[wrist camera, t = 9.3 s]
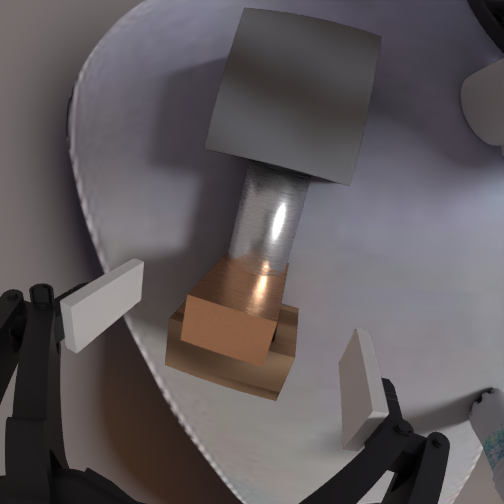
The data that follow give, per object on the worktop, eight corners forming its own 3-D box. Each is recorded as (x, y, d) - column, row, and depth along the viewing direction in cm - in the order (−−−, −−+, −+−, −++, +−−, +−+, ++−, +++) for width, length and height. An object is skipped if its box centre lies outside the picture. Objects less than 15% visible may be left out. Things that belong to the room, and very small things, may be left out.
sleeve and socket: (259, 49, 20) (240, 5, 13) (363, 73, 19) (385, 36, 12) (196, 320, 28) (164, 364, 21) (284, 347, 27) (276, 401, 20)
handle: (262, 120, 21) (232, 85, 12) (323, 136, 20) (338, 108, 11) (215, 322, 26) (174, 391, 17) (265, 338, 26) (244, 415, 16)
